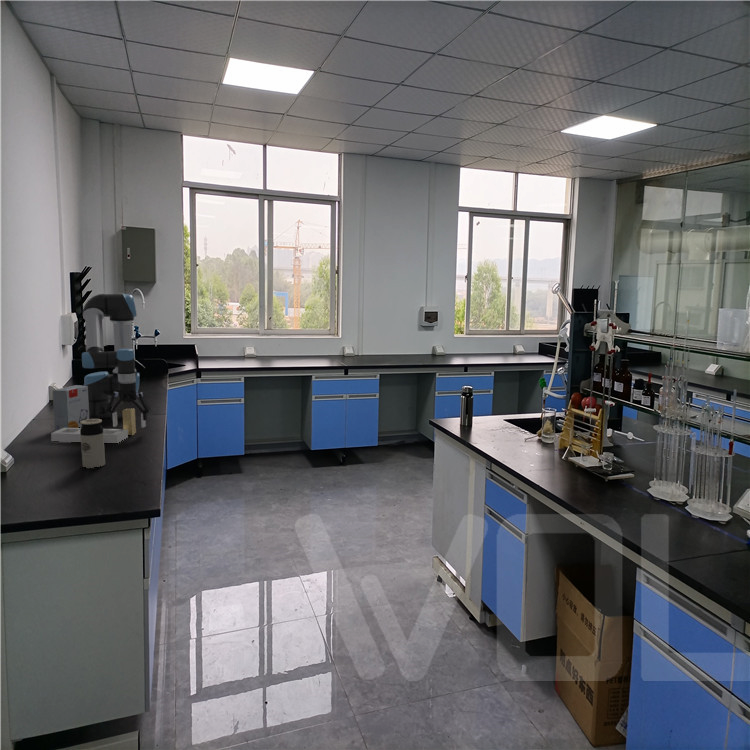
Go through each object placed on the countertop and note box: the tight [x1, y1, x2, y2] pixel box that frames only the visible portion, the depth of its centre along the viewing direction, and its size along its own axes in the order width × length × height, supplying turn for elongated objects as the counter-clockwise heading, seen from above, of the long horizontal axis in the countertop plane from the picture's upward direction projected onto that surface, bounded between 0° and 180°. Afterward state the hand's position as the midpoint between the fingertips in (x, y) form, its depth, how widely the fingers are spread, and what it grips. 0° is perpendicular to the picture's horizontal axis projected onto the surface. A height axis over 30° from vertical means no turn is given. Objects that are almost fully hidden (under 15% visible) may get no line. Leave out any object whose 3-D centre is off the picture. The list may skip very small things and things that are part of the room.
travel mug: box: [80, 419, 106, 469], centre depth 221 cm, size 8×8×18 cm
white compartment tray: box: [50, 427, 129, 444], centre depth 258 cm, size 10×30×4 cm, turn 87°
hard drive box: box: [52, 384, 89, 432], centre depth 277 cm, size 16×8×20 cm, turn 168°
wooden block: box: [121, 408, 137, 436], centre depth 268 cm, size 4×4×12 cm
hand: (129, 426), depth 268 cm, fingers open, 13 cm apart
